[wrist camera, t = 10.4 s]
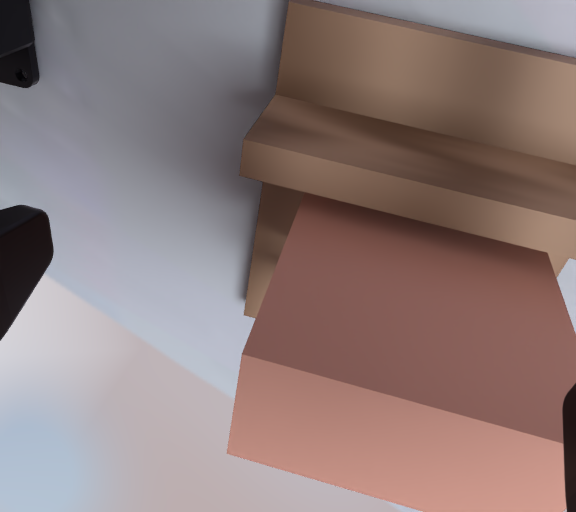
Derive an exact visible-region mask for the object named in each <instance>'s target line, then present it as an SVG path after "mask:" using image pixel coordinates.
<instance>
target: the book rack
mask: <svg viewBox="0 0 576 512" xmlns="http://www.w3.org/2000/svg"><path fill="white" fill-rule="evenodd" d="M239 176H242V177H246V178H250V179H254V180H258V181H262V182H263V184H262V191H261V198H260V205H259V212H258V219H257V226H256V233H255V240H254V247H253V254H252V261H251V268H250V275H249V282H248V289H247V296H246V303H245V310H244V315H245V316H249V317H253V318H256V317H257V314H258V312H259V309H260V306H261V304H262V301H263V299H264V296H265V294H266V291H267V288H268V286H269V283H270V281H271V278H272V275H273V273H274V270H275V268H276V265H277V263H278V260H279V257H280V255H281V252H282V250H283V247H284V245H285V242H286V239H287V237H288V234H289V232H290V229H291V226H292V224H293V221H294V219H295V216H296V214H297V211H298V208H299V206H300V203H301V201H302V198H303V196H304V193H305V192H307V193H311V194H315V195H319V196H323V197H327V198H331V199H335V200H339V201H343V202H347V203H351V204H355V205H359V206H363V207H367V208H371V209H375V210H379V211H383V212H387V213H391V214H395V215H399V216H403V217H407V218H411V219H415V220H419V221H423V222H427V223H431V224H435V225H439V226H443V227H447V228H451V229H455V230H459V231H463V232H467V233H471V234H475V235H479V236H483V237H487V238H491V239H495V240H499V241H503V242H507V243H511V244H515V245H519V246H523V247H527V248H531V249H535V250H539V251H543V252H547V253H548V256H549V259H550V261H551V264H552V267H553V270H554V273H555V276H556V278H557V276H558V275H559V273H560V272H561V270H562V268H563V267H564V265H565V264H566V262H567V261H568V259H569V258H571V259H575V260H576V58H573V57H568V56H564V55H559V54H554V53H550V52H545V51H541V50H536V49H532V48H527V47H523V46H518V45H514V44H509V43H504V42H500V41H495V40H491V39H486V38H482V37H477V36H473V35H468V34H463V33H459V32H454V31H450V30H445V29H441V28H436V27H432V26H427V25H423V24H418V23H413V22H409V21H404V20H400V19H395V18H391V17H386V16H382V15H377V14H373V13H368V12H363V11H359V10H354V9H350V8H345V7H341V6H336V5H332V4H327V3H322V2H318V1H313V0H290V1H289V3H288V10H287V17H286V24H285V31H284V38H283V44H282V51H281V58H280V65H279V72H278V79H277V86H276V93H275V96H274V97H273V98H272V100H271V101H270V103H269V104H268V105H267V107H266V108H265V110H264V111H263V112H262V114H261V115H260V117H259V118H258V119H257V121H256V122H255V124H254V125H253V126H252V128H251V129H250V131H249V132H248V133H247V135H246V136H245V138H244V139H243V146H242V156H241V165H240V174H239Z"/></svg>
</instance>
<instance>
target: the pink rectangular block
mask: <svg viewBox="0 0 576 512" xmlns="http://www.w3.org/2000/svg"><path fill="white" fill-rule="evenodd" d="M575 383H576V334H575V331H574V328H573V325H572V322H571V320H570V317H569V314H568V311H567V308H566V305H565V302H564V299H563V296H562V293H561V291H560V288H559V285H558V282H557V279H556V276H555V273H554V270H553V267H552V264H551V261H550V259H549V256H548V253H547V252H543V251H539V250H535V249H531V248H527V247H523V246H519V245H515V244H511V243H507V242H503V241H499V240H495V239H491V238H487V237H483V236H479V235H475V234H471V233H467V232H463V231H459V230H455V229H451V228H447V227H443V226H439V225H435V224H431V223H427V222H423V221H419V220H415V219H411V218H407V217H403V216H399V215H395V214H391V213H387V212H383V211H379V210H375V209H371V208H367V207H363V206H359V205H355V204H351V203H347V202H343V201H339V200H335V199H331V198H327V197H323V196H319V195H315V194H311V193H307V192H305V193H304V196H303V198H302V201H301V203H300V206H299V208H298V211H297V214H296V216H295V219H294V221H293V224H292V226H291V229H290V232H289V234H288V237H287V239H286V242H285V245H284V247H283V250H282V252H281V255H280V257H279V260H278V263H277V265H276V268H275V270H274V273H273V275H272V278H271V281H270V283H269V286H268V288H267V291H266V294H265V296H264V299H263V301H262V304H261V306H260V309H259V312H258V314H257V317H256V319H255V322H254V324H253V327H252V330H251V332H250V335H249V337H248V340H247V343H246V345H245V348H244V350H243V353H242V357H241V364H240V370H239V377H238V383H237V390H236V396H235V403H234V410H233V416H232V423H231V429H230V436H229V442H228V449H227V454H230V455H233V456H237V457H240V458H243V459H247V460H250V461H254V462H257V463H260V464H264V465H267V466H270V467H274V468H277V469H281V470H284V471H288V472H291V473H294V474H298V475H301V476H304V477H308V478H311V479H315V480H318V481H321V482H325V483H328V484H332V485H335V486H339V487H342V488H345V489H348V490H352V491H356V492H359V493H362V494H365V495H369V496H372V497H376V498H379V499H382V500H386V501H389V502H393V503H396V504H399V505H403V506H406V507H409V508H413V509H416V510H420V511H423V512H563V511H564V510H565V509H566V498H565V480H564V449H563V418H562V406H563V401H564V398H565V396H566V394H567V393H568V391H569V390H570V389H571V388H572V387H573V385H574V384H575Z"/></svg>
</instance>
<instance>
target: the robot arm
mask: <svg viewBox="0 0 576 512" xmlns="http://www.w3.org/2000/svg"><path fill="white" fill-rule="evenodd" d="M34 40H35V38H34V31H33V25H32V18H31V11H30V4H29V0H0V82H1V83H5V84H9V85H14V86H18V87H22V88H29V87H31V86H33V85H35V84H36V83H37V82H38V81H39V71H38V65H37V58H36V51H35V44H34ZM22 70H23V71H24V72H25V73H26V75H27V78H26V77H25V76H24V75H23V74H22ZM53 252H54V249H53V242H52V236H51V229H50V223H49V218H48V215H47V214H46V212H44V211H43V210H41V209H37V208H33V207H30V206H26V205H17V206H13V207H10V208H6V209H2V210H0V340H1V339H2V338H3V337H4V335H5V334H6V332H7V331H8V329H9V328H10V327H11V325H12V323H13V322H14V320H15V319H16V317H17V316H18V314H19V312H20V311H21V309H22V308H23V306H24V304H25V303H26V301H27V300H28V298H29V297H30V295H31V293H32V292H33V290H34V288H35V287H36V285H37V284H38V282H39V281H40V279H41V277H42V276H43V274H44V273H45V271H46V269H47V268H48V266H49V265H50V263H51V260H52V258H53ZM562 418H563V449H564V480H565V498H566V508H567V512H576V383H575V384H574V385H573V387H572V388H571V389H570V390H569V391H568V393H567V394H566V396H565V398H564V401H563V406H562Z"/></svg>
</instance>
